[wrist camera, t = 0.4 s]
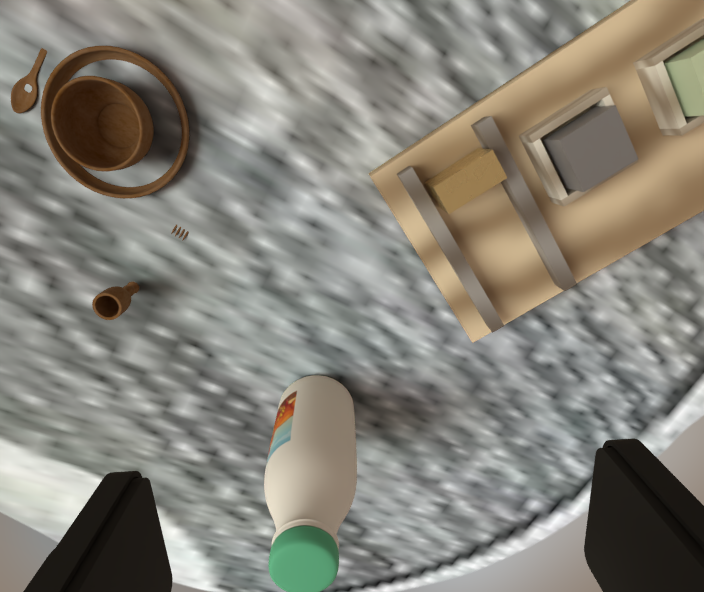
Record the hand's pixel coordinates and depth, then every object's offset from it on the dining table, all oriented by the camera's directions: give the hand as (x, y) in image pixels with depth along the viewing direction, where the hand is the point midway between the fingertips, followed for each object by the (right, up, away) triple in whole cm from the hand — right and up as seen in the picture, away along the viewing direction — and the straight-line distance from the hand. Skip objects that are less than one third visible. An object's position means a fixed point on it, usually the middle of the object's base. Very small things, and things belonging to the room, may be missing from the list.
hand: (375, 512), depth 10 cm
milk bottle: (-4, -7, +40) cm, 41 cm away
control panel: (+18, +16, +33) cm, 41 cm away
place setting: (-22, +16, +33) cm, 43 cm away
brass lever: (+8, +14, +30) cm, 34 cm away
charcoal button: (+17, +16, +28) cm, 37 cm away
